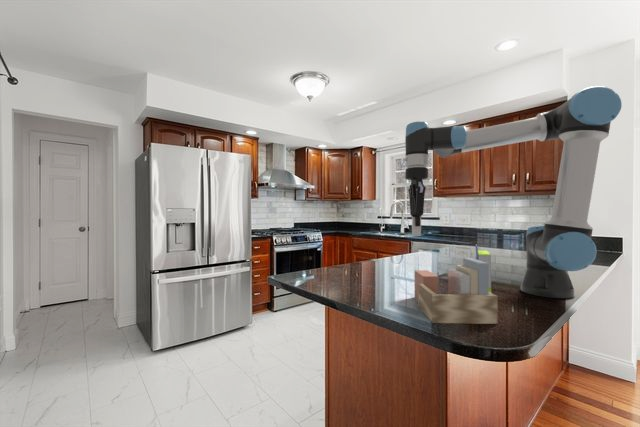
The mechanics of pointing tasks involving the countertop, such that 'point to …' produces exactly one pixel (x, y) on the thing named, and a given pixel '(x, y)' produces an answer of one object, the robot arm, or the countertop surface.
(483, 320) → the wooden crate
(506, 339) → the countertop surface
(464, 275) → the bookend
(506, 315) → the countertop surface
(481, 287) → the shelved books
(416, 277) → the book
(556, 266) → the robot arm
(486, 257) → the box
